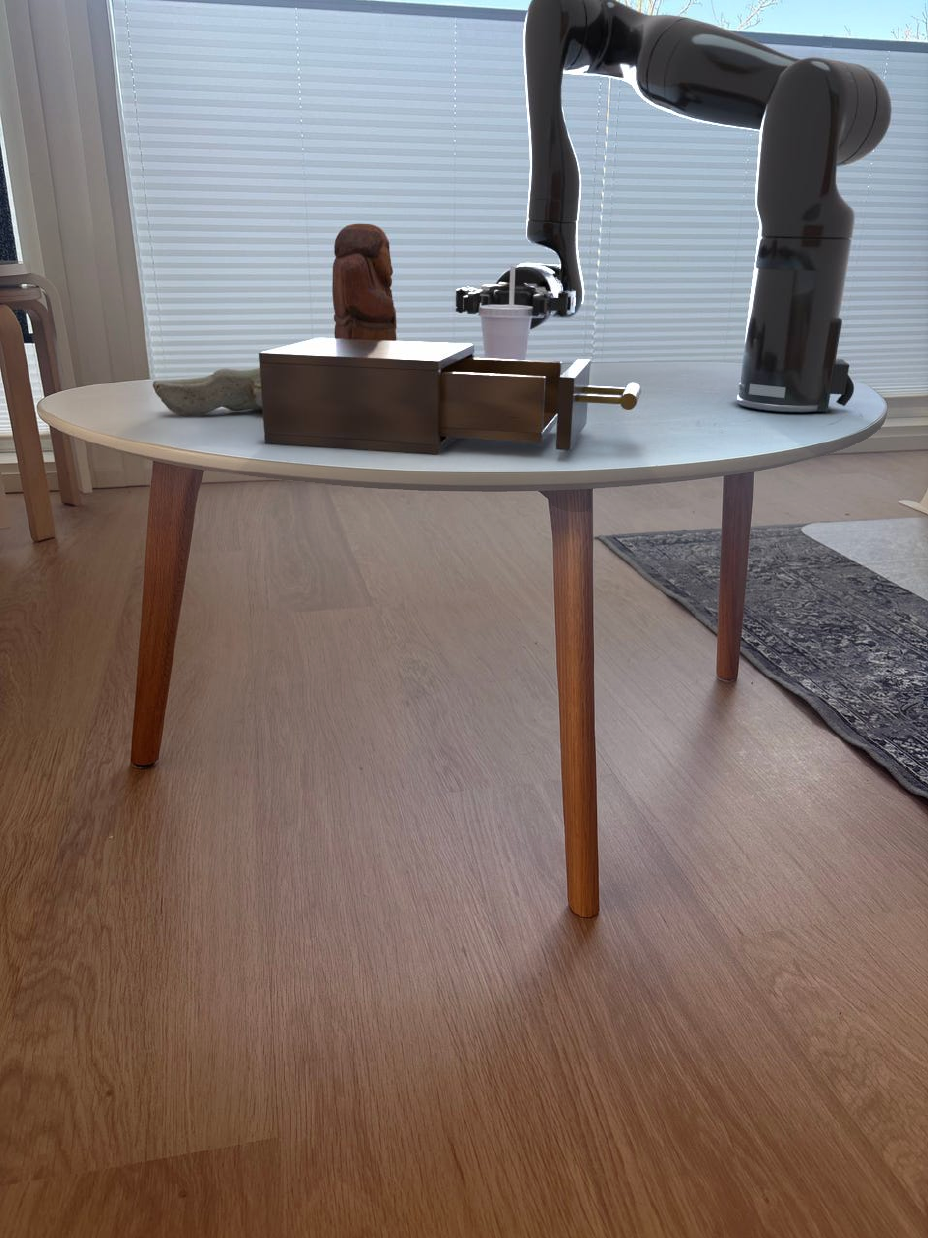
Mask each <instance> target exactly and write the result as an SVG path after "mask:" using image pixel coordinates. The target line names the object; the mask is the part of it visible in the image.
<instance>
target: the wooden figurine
mask: <svg viewBox="0 0 928 1238" xmlns="http://www.w3.org/2000/svg"><path fill="white" fill-rule="evenodd" d="M333 249H334V252H333V253H334V257H335V258H334V261H333V264H332V285H331V287H332V304H333V311H334V314H333V320H334V322H335V323H334V333H333V334H334V338H336V339H361V340H385V341H398V340H397V339H398V338H397V328H398V327H397V310H396V307H395V303H394V299H393V291H392V289H391V287H392V285H393V279H392V275H393V274H394V269H393V265H392V258H391V251H390V249H391V248H390V241H389V239H388V237H387V235H386V232H385V231H384V230H383V229H382V228H381V227H379V226H378V225H376V224H373V223H351V224H348V225H345V226H344V227H343V228H342V229H341V230H340V231H339V232H338V234H337V235H336V238H335V241H334V248H333Z"/></svg>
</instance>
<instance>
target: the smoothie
mask: <svg viewBox="0 0 928 1238" xmlns="http://www.w3.org/2000/svg"><path fill="white" fill-rule="evenodd" d="M515 267H516V265H510V266H509V269H510V292H509V305H483V306H481V305H480V306H479V313H477V314H478V315H477V316H479V317H480V320H481V322H480V323H481V333H482V342H483V352H484V353H483V355H484V358H487V359H510V360H526V357H527V350H528V344H529V337H530V331H531V329H530V325H531V319H532V317H534V316H533V307H531V306H523V305H514V290H515Z"/></svg>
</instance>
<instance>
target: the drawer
mask: <svg viewBox="0 0 928 1238" xmlns="http://www.w3.org/2000/svg"><path fill="white" fill-rule="evenodd" d="M562 367H563V361H555V360H553V361H552V360H533V359H532V360H531V359H530V360H529V359H528V360H527V359H525V360H510V359H487V358H485V357H483V358H482V357H474V358H463V359H461V360H459V361H457V362H455V363H453V364H451V365H449V366H447V367H445V368H443V369H441V370H440V371H441V384H440V437H450V438H457V439H466V440H467V439H468V440H482V441H483V440H487V441H498V442H499V441H501V442H514V443H515V442H516V443H532V444H541V443H542V442H543V441H544V440H545V439H546V437H547V436H548V435H549V433H550V432H551V430H552V429H553V428H554V427H555V425H556V435H555V450H557V451H571V450H572V448H573V447H574V444H575V443H576V442H577V440H578V438H579V436H580V435H581V433H582V431H583V430H584V428H585V426H586V424H587V419H588V403H589V404H604V405H605V404H608V405H620V407H621V408H622V409H623V410H626V411H631V410H633V409H635V408H636V407H637V404H638V402H639V399H640V396H641V393H642V388H641V386H640V385H639V384H638V383H636V382H631V383H628V384H627V385H626V386H625V387H622V386H620V387H619V386H603V385H600V386H599V385H589V384H590V374H591V372H590V371H591V359H581V358H580V359H579V358H577V359H576V360H575V361H574V362H573V363H572V364H571V365H570V366H569V367H568V368H567V369H566V370H565V371H564V372H563V373H562V369H563V368H562Z"/></svg>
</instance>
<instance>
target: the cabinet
mask: <svg viewBox="0 0 928 1238" xmlns="http://www.w3.org/2000/svg"><path fill="white" fill-rule="evenodd" d="M463 358H475V344H474V343H455V342H432V341H410V340H409V341H407V340H406V341H405V340H397V341H385V340H361V339H336V338H335V337H315V338H311V339H308V340H304V341H300V342H296V343H292V344H288V345H284V346H281V347H277V348H273V349H268V350H264V351H261V352H260V351H259V352H258V363H259V368H260V380H261V395H262V409H261V410H262V423H263V425H262V426H263V433H264V434H263V437H264V438H263V439H264V440H263V441H264V444H276V445H289V446H304V447H305V446H307V447H322V448H337V449H353V450H365V451H367V450H368V451H381V452H396V453H397V452H399V453H411V454H428V455H439V454H440V453H441V452H442V451H443V450H445V449H446V448H447V447H448V446H450V445H451V444H452V443H454V441H456V440H457V439H458V438H450V437H440V384H441V371H440V370H441V369H443V368H445V367H447V366H449V365H451V364H453V363H455V362H457V361H459V360H461V359H463Z"/></svg>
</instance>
